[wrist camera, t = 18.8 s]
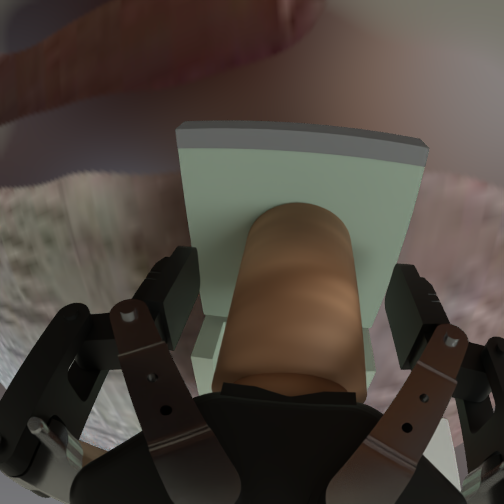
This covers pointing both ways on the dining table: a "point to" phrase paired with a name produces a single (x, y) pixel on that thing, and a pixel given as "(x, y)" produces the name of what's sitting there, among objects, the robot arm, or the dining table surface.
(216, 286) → the panel
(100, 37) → the dining table surface
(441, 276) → the dining table surface
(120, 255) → the dining table surface
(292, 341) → the brown ridged cylinder
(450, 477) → the milk carton
